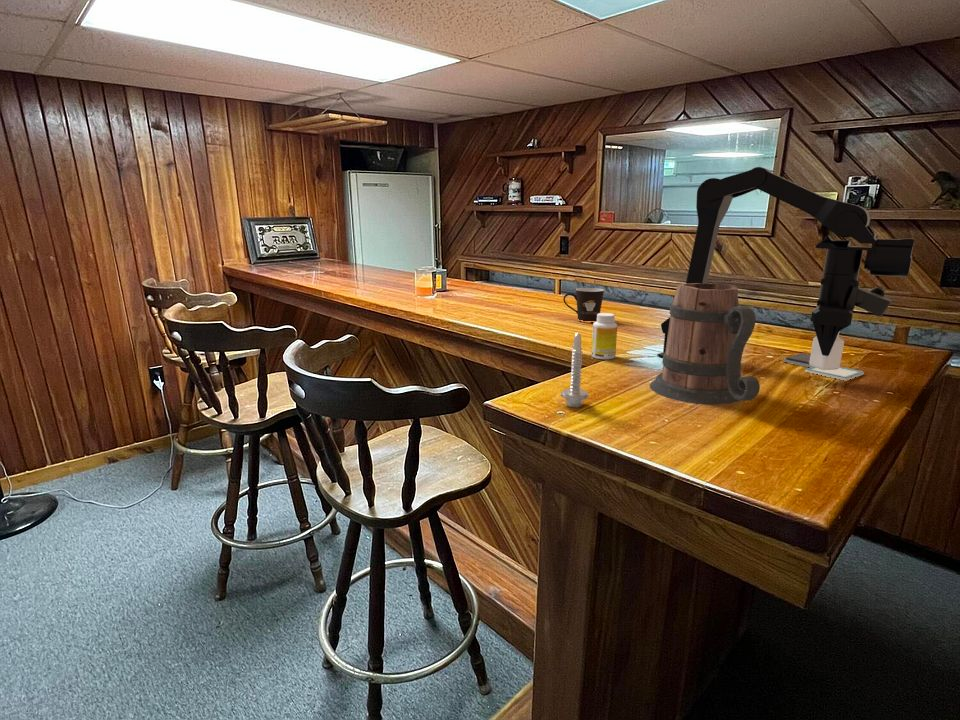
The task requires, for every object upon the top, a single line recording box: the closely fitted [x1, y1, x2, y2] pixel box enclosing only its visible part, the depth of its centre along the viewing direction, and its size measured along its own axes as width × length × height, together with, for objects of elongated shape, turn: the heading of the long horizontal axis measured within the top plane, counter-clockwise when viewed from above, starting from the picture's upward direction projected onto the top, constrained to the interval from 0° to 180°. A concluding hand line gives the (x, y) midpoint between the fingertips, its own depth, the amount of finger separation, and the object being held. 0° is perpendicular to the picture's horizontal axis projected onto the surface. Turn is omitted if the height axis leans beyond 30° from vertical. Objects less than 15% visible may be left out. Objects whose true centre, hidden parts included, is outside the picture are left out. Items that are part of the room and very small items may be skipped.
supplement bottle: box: [591, 312, 618, 361], centre depth 124 cm, size 6×6×10 cm
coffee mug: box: [563, 287, 605, 321], centre depth 168 cm, size 12×9×10 cm
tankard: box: [649, 282, 761, 406], centre depth 96 cm, size 24×17×20 cm
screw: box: [560, 332, 590, 408], centre depth 92 cm, size 13×5×5 cm
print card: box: [804, 366, 865, 382], centre depth 112 cm, size 8×8×1 cm
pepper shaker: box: [809, 331, 845, 370], centre depth 105 cm, size 4×4×10 cm
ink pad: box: [782, 352, 812, 368], centre depth 120 cm, size 8×7×1 cm
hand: (826, 352), depth 106 cm, fingers closed on pepper shaker, 5 cm apart
